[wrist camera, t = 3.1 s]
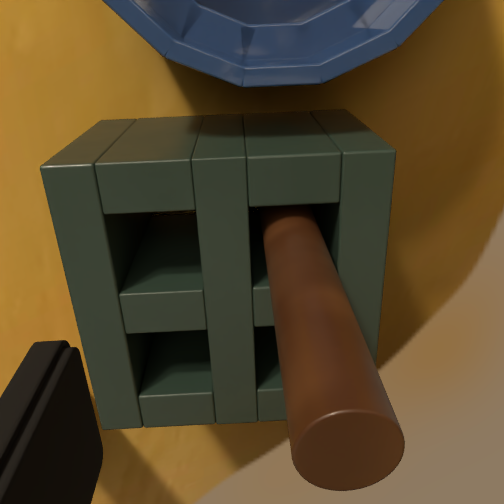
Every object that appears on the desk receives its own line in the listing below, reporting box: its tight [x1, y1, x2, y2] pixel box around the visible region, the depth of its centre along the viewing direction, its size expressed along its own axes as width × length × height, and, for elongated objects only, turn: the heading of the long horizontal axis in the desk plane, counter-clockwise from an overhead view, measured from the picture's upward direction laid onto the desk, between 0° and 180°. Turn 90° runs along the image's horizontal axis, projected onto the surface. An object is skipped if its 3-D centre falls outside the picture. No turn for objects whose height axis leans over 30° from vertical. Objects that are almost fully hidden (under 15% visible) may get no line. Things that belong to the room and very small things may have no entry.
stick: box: [259, 204, 405, 491], centre depth 15 cm, size 2×2×15 cm
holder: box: [40, 109, 396, 430], centre depth 19 cm, size 10×10×7 cm
